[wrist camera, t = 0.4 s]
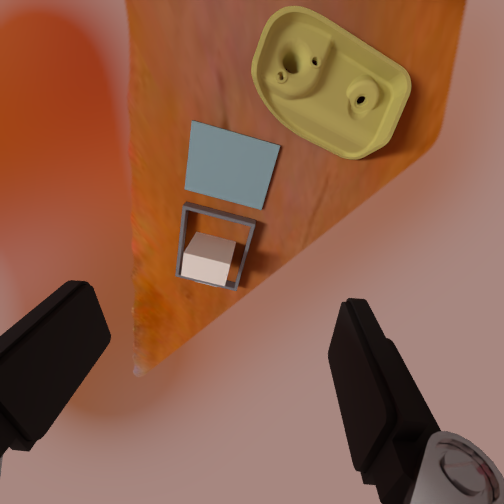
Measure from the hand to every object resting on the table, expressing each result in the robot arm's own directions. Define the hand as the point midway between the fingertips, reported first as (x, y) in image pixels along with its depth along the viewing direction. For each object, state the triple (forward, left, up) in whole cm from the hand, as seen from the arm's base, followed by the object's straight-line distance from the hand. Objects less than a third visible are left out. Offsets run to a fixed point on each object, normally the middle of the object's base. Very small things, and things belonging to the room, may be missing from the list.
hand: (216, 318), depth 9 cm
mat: (+3, -4, -35) cm, 36 cm away
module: (+19, -4, -35) cm, 40 cm away
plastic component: (-11, +7, -36) cm, 38 cm away
